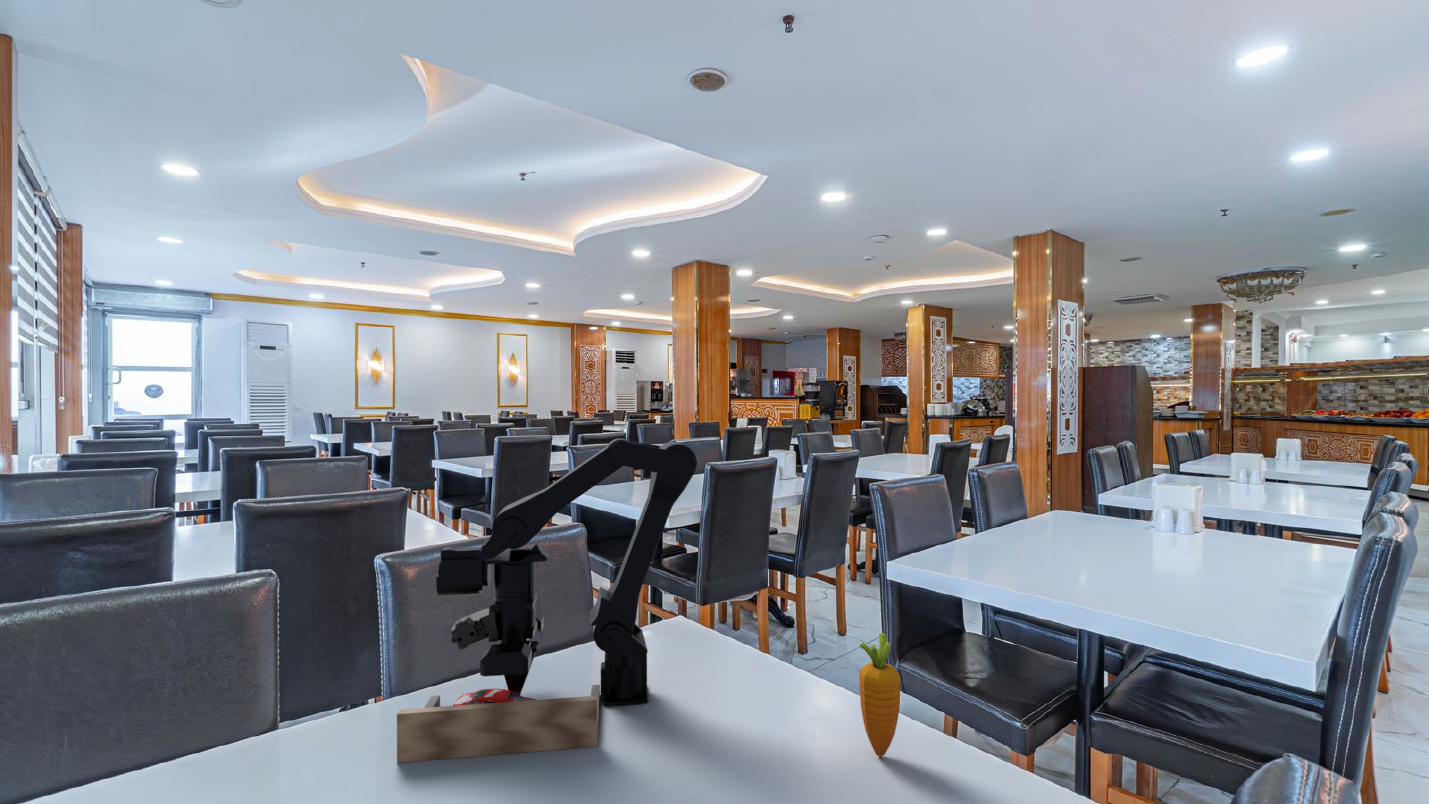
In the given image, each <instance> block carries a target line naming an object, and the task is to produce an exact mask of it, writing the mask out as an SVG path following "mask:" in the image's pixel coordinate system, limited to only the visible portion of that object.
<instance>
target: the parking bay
mask: <svg viewBox="0 0 1429 804" xmlns="http://www.w3.org/2000/svg"><path fill="white" fill-rule="evenodd" d="M590 690H591V691H590V695H589V696H588V695H587V696H576V697H574V696H573V697H561V698H558V697H557V698H547V699H546V698H545V699H543V698H542V699H537V700H529V701H515V702H501V703H486V704H472V705H458V706H453V705H445V706H441V695H430V697H429V698H428V701H427V702H426V704H425V705H424V707H420V708H419V707H417V708H405V709H404V708H402V709H399V710H398V712H397V713H396V763H397V764H399V763H400V764H401V763H413V762H424V761H425V762H426V761H435V760H436V761H437V760H448V759H460V758H461V759H462V758H471V757H472V758H473V757H484V756H497V755H498V756H499V755H500V756H501V755H511V754H521V753H533V752H535V753H536V752H546V751H556V750H557V751H559V750H569V749H570V750H571V749H583V748H584V749H585V748H593V747H594V748H596V747H598V734H599V732H598V731H599V716H600V715H599V714H600V698H601V684H591V688H590Z"/></svg>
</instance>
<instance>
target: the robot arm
mask: <svg viewBox="0 0 1429 804" xmlns="http://www.w3.org/2000/svg"><path fill="white" fill-rule="evenodd" d="M623 467H628V468H633V469H638V470H642V471H647V472H650V481H649V488H648V489H649V490H648V494H647V498H646V501H645V503H644V506H643V508H642V511H641V512H640V513H641V514H640V516H639V518H638V522H637V524H636V525H635V526H636V527H635V529H634V531H633V535H632V537H631V539H630V542H629V545H628V546H627V547H628V548H627V551H626V553H625V555H624V558H623V561H622V563H621V566H620V568H619V571H618V572H617V573H618V574H617V576H616V579H615V580H614V582H613V583H612V585H611V586H610V587H609V589H608V590H607V589H606V588H603V587H602V586H601V587H599V589H598V595H597V599H596V601H595V604H594V605H593V607H592V608H591V609H590V625H591V626H592V635H593V641H594V643H595V645H596V646H597V648H599V650H601V651H603V652H604V661H602V662H600V697H601V698H603V705H604V706H606V707H607V706H621V705H632V704H633V705H634V704H635V705H636V704H646V703H648V702H649V691H648V690H649V689H648V647H647V642H646V639H645V635H644V632H643V629H642V628H641V627H640V626H638V624H636V621H637V615H638V608H639V600H640V599H639V598H640V593H641V590H642V587H643V585H644V583H645V580H646V577H647V574H648V572H649V570H650V566H651V564H652V561H653V558H654V556H655V553H656V551H657V547H658V545H659V544H660V543H659V542H660V540H661V538H662V535H663V532H664V530H665V526H666V524H667V521H668V519H669V516H670V513H671V511H672V509H673V507H674V505H675V503H676V502H677V500H678V499H679V498H680V496H681V495H682V493H684V491H685V490H686V488H687V487H688V485H689V483H690V482H691V480H692V478H693V476H694V475H695V473H696V471H697V467H698V459H697V457H696V454H695V453H694V451H693V450H692V448H691V447H689V446H687V445H684V444H683V443H680V442H676V441H668V442H666V443H663V444H661V445H658V444H657V445H656V444H650V443H645V442H644V443H643V442H637V441H631V440H626V438H615V439H612V440H611V441H610V442H609V443H608V444H607V446H605V447H604V448H602V449H601V450H599V451H598V452H596V453H595V454H593V455H592V456H589V458H588V459H586V460H585V461H583V462H582V463H580V464H579V465H577V466H576V467H574V468H573V469H572V470H570V471H568V473H566V474H564V475H563V476H562V477H560V478H559V479H557V480H556V481H555V482H553V483H552V484H550V485H548V486H547V487H546V488H544V489H541V490H538V491H537V492H535V493H531V494H530V495H527V496H524V497H522V498H521V499H518V500H516V501H514V502H512V503H510V504H508V505H506V506H504V508H502V509H501V510H500V512H499V513H498V514H497V515H496V517H495V518H494V519H493V522H492V525H491V533H492V534H491V535H490V536H489V538H486V539H485V540H484V542H483V543H482V544H481V546H478V547H477V546H476V547H475V546H474V547H456V546H445V547H443V549H442V550H441V551H440V560H439V564H438V571H437V575H436V577H435V581H436V583H435V585H436V592H437V593H436V594H437V596H438V597H439V598H441V597H442V598H443V597H459V596H461V597H462V596H477V595H478V596H479V595H481V594H482V592H483V591H484V588H489V587H490V586H491V585H490V584H491V578H492V566H491V565H493V572H494V573H493V592H494V594H493V596H494V598H493V601H492V603H491V604H490V605H489V607H488V608H484V609H481V610H479V611H476V612H474V613H471V614H469V615H467V616H464V617H461V618H460V619H458V620H457V621H456V622H455V623H454V624H453V626H452V627H451V628H450V630H451V631H450V632H451V639H450V640H451V643H452V644H456V646H457V648H458V650H459V651H461V650H464V649H467V648H468V647H469V646H470V645H472V644H475V643H478V642H480V641H482V640H485V639H487V638H488V643H495V644H491V645H490V646H489V647H488V648H487V649H486V650H485V651H484V653H483V655H482V656H481V658H480V661H479V666H480V667H479V673H480V674H479V675H480V676H481V677H498V676H504V681H505V684H506V687H507V690H509V691H512V692H515V693H517V692H519V695H521V693H522V691H523V689H524V686H525V683H526V680H527V677H528V675H529V672H530V670H531V667H532V665H533V661H534V659H535V656H536V652H537V650H538V647H539V643H540V642H539V641H537V640H534V641H531V640H532V639H534V637H535V634H536V631H537V633H542V632H543V630H544V624H545V622H544V621H545V618H544V614H543V613H542V612H541V611H540V610H538V609H536V603H537V601H538V592H536V563H539V562H540V563H545V562H546V561H548V558H549V557H548V556H549V552H548V551H547V550H545V549H544V548H543V547H542V546H541V545H540V543H539V542H538V541H537V542H535V543H534V544H533V545H532V546H531V547H527V548H523V547H524V546H526V545H527V544H528V543H529V542H530V541H531V540H532V539H533V538H534V537H535V536H536V535H537V534H538V533H539V532H540V531H541V530H543V528H544V527H545V526H546V525H547V524H548V523H549V522H550V521H551V519H552V518H553V517H555V515H557V514H558V512H560V510H562V509H564V508H565V507H566V506H569V504H571V503H573V502H574V501H575V500H577V499H578V498H579V497H581V496H582V495H584V494H585V493H587V492H588V491H590V490H591V489H592V488H594V487H595V486H596V485H598V484H599V483H601V482H603V481H604V480H605V479H607V478H608V477H609V476H611V475H612V474H613V473H615V472H617V471H618V470H619V469H621V468H623ZM508 549H509V550H510V551H509V553H507V554H502V553H504V552H505V551H507V550H508ZM499 641H500V642H499ZM498 642H499V643H498ZM497 643H498V644H497Z"/></svg>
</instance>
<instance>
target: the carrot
mask: <svg viewBox="0 0 1429 804" xmlns="http://www.w3.org/2000/svg"><path fill="white" fill-rule="evenodd" d="M878 640H879V641H878V642H879V647H878V648H877V646H876V645H875V644H871V645H870V646H869V645H867V644H866V643H864V642H863V641H862V642H860V643H859V647H860V648H862V650H864V651H865V652H866V654H867V655H868V656H869V658H870V660H871V661H870V662H867V663H866V664H865V665H863V666H862V667H861V668H860V669H859V670H860V671H859V675H858V677H859V697H860V700H859V701H860V708H861V715H862V721H863V724H864V730H865V734H866V736H867V738H868V740H869V743H870V745H871V747H872V749H873V751H874V753H875V755H876V756H877V757H878V756H879V757H881V758H883V756H885V755H886V754H887V751H888V749H889V747H890V746H891V744H892V742H893V738H894V737H895V734H896V730H897V726H898V721H899V715H900V704H901V702H900V701H901V675H900V672H899V671H897V669H896V668H895V667H894V666H893V665H891V664H889V663H887V657H888V655H889V652H890V650H891V648H892V645H891V643H890V642H888V635H887V634H885V633H883V632H882V633H881V632H880V633H879V634H878ZM879 757H878V758H879Z"/></svg>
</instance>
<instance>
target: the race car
mask: <svg viewBox="0 0 1429 804" xmlns="http://www.w3.org/2000/svg"><path fill="white" fill-rule="evenodd" d="M529 700H538V699H537V698H532V697H528V696H523V695H521V694H520V695H519V692H517V693H515V692H512V691H509V690H508V689H506V688H485V689H478V690H476V691H474V692H468V693H465V694H462V695H460V697H458V698H457V699H455V701H454V703H453V705H452V706H458V705H472V704H486V703H501V702H515V701H529Z"/></svg>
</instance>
